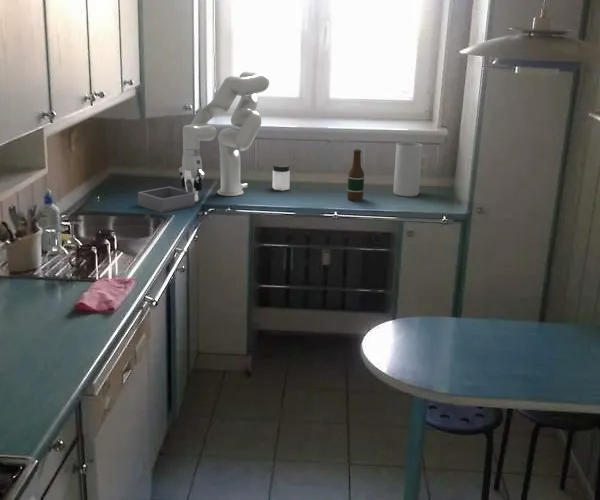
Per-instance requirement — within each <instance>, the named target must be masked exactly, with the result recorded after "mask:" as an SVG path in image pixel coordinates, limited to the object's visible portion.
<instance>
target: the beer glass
mask: <svg viewBox="0 0 600 500" xmlns="http://www.w3.org/2000/svg"><path fill="white" fill-rule="evenodd" d="M196 176H198V173H197V175H196ZM198 179H199V178H198ZM184 180H185V186H186V187H185V191H188V192H192V193H195V203H196V202H199V201H200V198H199V191H196V190H195V183H196V180H195V178H193V177H192V175H191V170H186V169H185V174H184Z"/></svg>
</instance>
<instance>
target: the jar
mask: <svg viewBox="0 0 600 500" xmlns="http://www.w3.org/2000/svg"><path fill="white" fill-rule="evenodd" d="M272 166H273V167H272V189H273V190H274V191H287V190H290V184H291V183H290V178H291V176H290V175H291V171H290V164H287V163H275V164H273V165H272Z"/></svg>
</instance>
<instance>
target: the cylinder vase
mask: <svg viewBox="0 0 600 500" xmlns="http://www.w3.org/2000/svg"><path fill="white" fill-rule="evenodd" d="M422 153H423V144H422V143H418V142H413V141H400V142H396V148H395V160H394V161H395V163H394V175H393V176H394V177H393V178H394V179H393V189H392V191H393V192H392V193H393V194H394V195H396V196H400V197H405V198H406V197H407V198H409V197H416V196H418V195H419V194H420V179H421V170H422Z"/></svg>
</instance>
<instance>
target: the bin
mask: <svg viewBox="0 0 600 500" xmlns="http://www.w3.org/2000/svg"><path fill="white" fill-rule="evenodd" d="M137 205H138V206H139V207H143V208H146V209H149V210H151V211H155V212H158V213H161V214H163V213H165V214H166V213H170V212H173V211H178V210H183V209H188V208H193V207H195V206H196V202H195V193H192V192H188V191H186V190H184V189H181V188H177V187H173V186H165V187H159V188H153V189H148V190H144V191H143V190H142V191H137Z"/></svg>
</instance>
